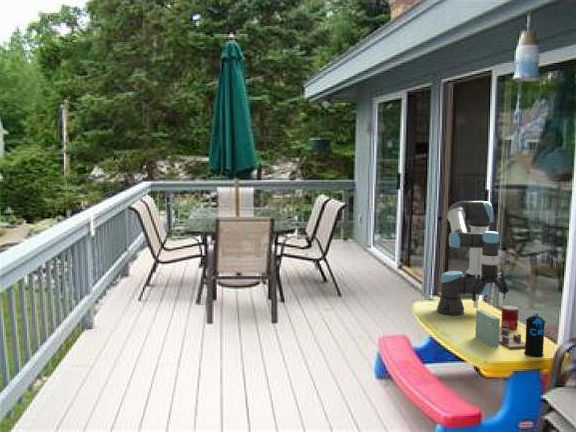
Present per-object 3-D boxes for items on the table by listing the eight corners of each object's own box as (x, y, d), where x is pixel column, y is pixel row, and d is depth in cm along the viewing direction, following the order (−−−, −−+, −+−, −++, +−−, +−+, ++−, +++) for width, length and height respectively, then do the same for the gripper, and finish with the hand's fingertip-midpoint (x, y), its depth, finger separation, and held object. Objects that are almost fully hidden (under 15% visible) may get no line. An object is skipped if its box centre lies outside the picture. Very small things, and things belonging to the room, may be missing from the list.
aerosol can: (520, 351, 274) (522, 309, 271) (537, 350, 274) (539, 309, 272) (529, 357, 266) (531, 314, 263) (547, 357, 266) (549, 314, 264)
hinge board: (482, 333, 300) (483, 325, 299) (500, 332, 302) (500, 324, 301) (510, 349, 276) (510, 340, 276) (529, 347, 278) (529, 339, 278)
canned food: (518, 330, 305) (519, 309, 304) (502, 329, 307) (503, 308, 305) (516, 325, 312) (517, 305, 311) (500, 324, 314) (501, 304, 313)
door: (473, 337, 294) (474, 310, 292) (480, 336, 295) (481, 309, 293) (490, 347, 279) (491, 319, 277) (498, 347, 279) (499, 318, 278)
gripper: (470, 266, 276) (468, 310, 278) (517, 264, 281) (515, 307, 284) (462, 263, 283) (460, 306, 286) (508, 261, 289) (506, 303, 291)
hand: (488, 306), depth 285 cm, fingers open, 13 cm apart
